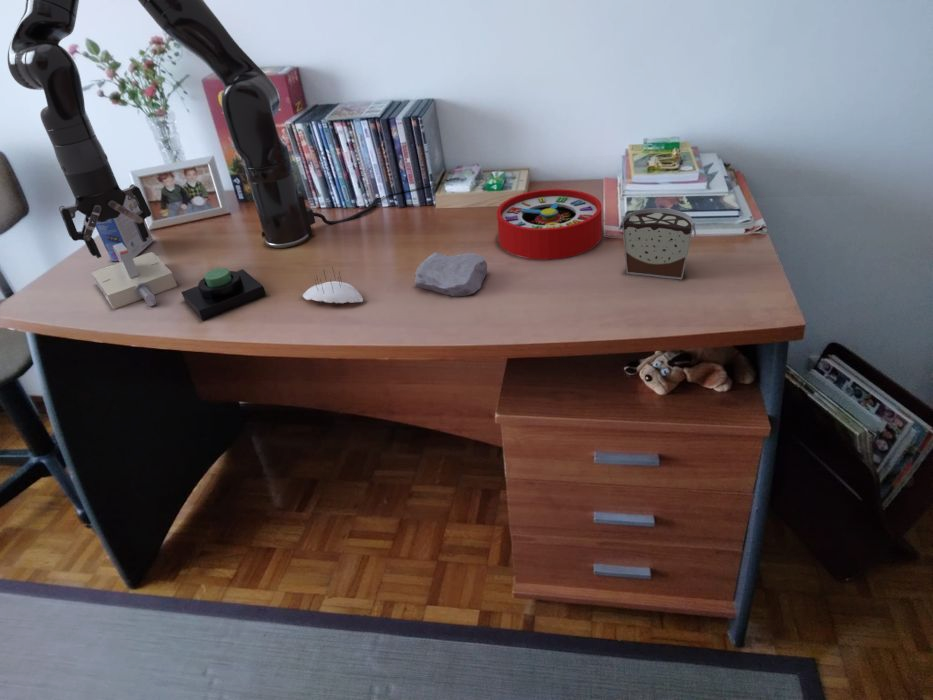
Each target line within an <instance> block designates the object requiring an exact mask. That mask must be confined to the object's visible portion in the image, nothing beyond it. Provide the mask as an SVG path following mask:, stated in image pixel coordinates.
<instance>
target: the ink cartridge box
mask: <svg viewBox="0 0 933 700" xmlns="http://www.w3.org/2000/svg"><path fill="white" fill-rule="evenodd" d="M123 206H125V207H126V208H128V209H130V210H131V211H133V212H134V213H136V214H137V213H138V212H140V209H139V207H138V205H137V203H136V200H135V199H132V198H130V197H129V196H128V195H127V196H126V198H125V201H124V205H123ZM134 222H135V221H134V220H132V219H131V218H129V217H127V216H125V215H124V214H122V213H121V214H120V215H119V216H118V217H117V218H112V219H108V220H107V221H105V222H102V223H101V222H97V223H96V227H95V229H96V231H97V233H98V235H99V237H100V239H101V241H102V243H103V245H104V248H105V250H106V252H107V254H108V256H109V258H110V260H111V262H119V260H118V258H117V255H116V253H115V251H114V248H113V245H116V244H119V243H122V244H123V245H124V246H125V247H126V248H127V249H128V251H129V252H130V253H131V256H132V258H135V257H138V256H139V254H141V253H142V252H143V251H145V249H146V248H148V247H149V246H150V245H151V244H152V243H153V242H154V238H153V236H152V234H151V231H150V230H149V227H148V224H147V221H146V218H145V219H144V224H145V227H146V229H147V232H148V234H149V237H148V238H146V239H147V241H146V242H143V241H142V240H141V239H140V236H139V234H138V232H137V229H136V227H135V224H134Z"/></svg>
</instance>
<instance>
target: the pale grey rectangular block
mask: <svg viewBox="0 0 933 700" xmlns="http://www.w3.org/2000/svg"><path fill="white" fill-rule="evenodd" d="M113 248H114V251H115V253H116V255H117V258H118V260H119V261H118V263H120V265H121V267H122V269H123V270H124V271H125V273H126V274H127V275H128V276H129V278H130V279H131V278H134V277H137V276H140V275H139V273H138V270H137V268H136V265H135V263H134V261H133V258H132V256H131V253H130V252H129V251H128V249H127V248H126V247H125V246H124V245H123V244H122V243H119V244H116V245H113Z"/></svg>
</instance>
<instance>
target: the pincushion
mask: <svg viewBox="0 0 933 700" xmlns="http://www.w3.org/2000/svg"><path fill="white" fill-rule="evenodd" d="M323 271H325V269H323ZM332 272H333V276H334V277H336V275H335V271H334V267H333V266H332ZM338 273H339V275H341V274H340V272H338ZM323 274H324V275H326V273H325V272H323ZM315 276H316V277H318V275H315ZM324 278H325V279H327V277H326V276H324ZM337 279H338V281H337ZM337 279H336V278H334V280H335V281H334V280H333V281H332V280H331V279H330V281H327V280H325V282H322V280H321V278H319V279H318V278H316V279H314V281H315V284H314V285H313V286H311V287H309V288H308V289H306V291H304V293H302V295H301V296H302V298H303V299H304V300H306V301H315V302H320V304H322V303H323V302H324V303H325V304H326V305H327V304H329V303H330V304H332V303H335V305H337V304H344V303H345V304H347V303H351V304H353V303H362V302H363V301H364V299H363V297H362V295H361V293H360V292H359V291H358V290H357V288H355V286H353V285H351V284H350V283H347V282H343V281H342V277H341V276H337ZM316 280H317V281H316ZM319 280H320V283H319ZM317 283H318V284H317Z"/></svg>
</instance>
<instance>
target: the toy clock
mask: <svg viewBox="0 0 933 700" xmlns="http://www.w3.org/2000/svg"><path fill="white" fill-rule="evenodd" d="M602 211H603V207H602V202H601V201H600V200H599V198H598V197H596V196H594V195H592V194H590V193H588V192H584V191H580V190H575V189H564V188H550V189H539V190H533V191H528V192H524V193H520V194H517V195H515V196H512V197H510V198H508V199H506V200H505V201H503V202H502V203H500V205H499V206H498V207H497V210H496V221H497V233H498V243H499V245H500V247H501V248H502V249H503V250H504V251H505V252H507V253H508V254H511V255H514V256H516V257H520V258H525V259H530V260H558V259H566V258H570V257H574V256H577V255H580V254H583V253H586V252H588V251H590V250H591V249H593V248H595V247H596V246H597V245H598V244H599V243H600V242H601V239H602V234H603V233H602V232H603V231H602V229H603V228H602V227H603V224H602V223H603V219H602V217H603V212H602Z"/></svg>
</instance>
